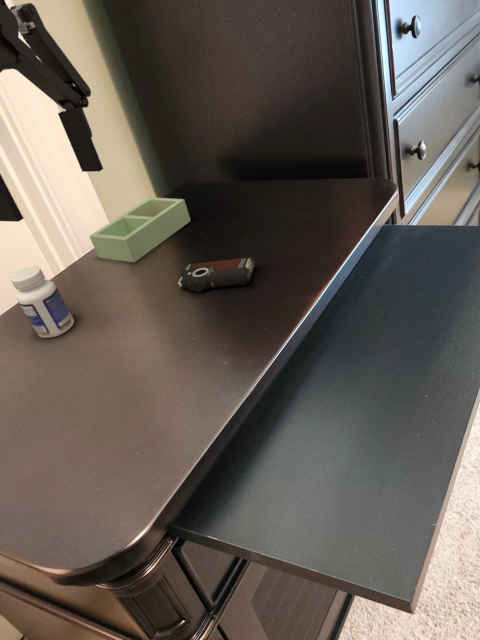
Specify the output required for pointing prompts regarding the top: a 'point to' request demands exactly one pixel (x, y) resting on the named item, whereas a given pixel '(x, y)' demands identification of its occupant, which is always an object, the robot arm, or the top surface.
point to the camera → (216, 274)
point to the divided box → (140, 229)
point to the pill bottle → (41, 302)
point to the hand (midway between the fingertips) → (55, 193)
